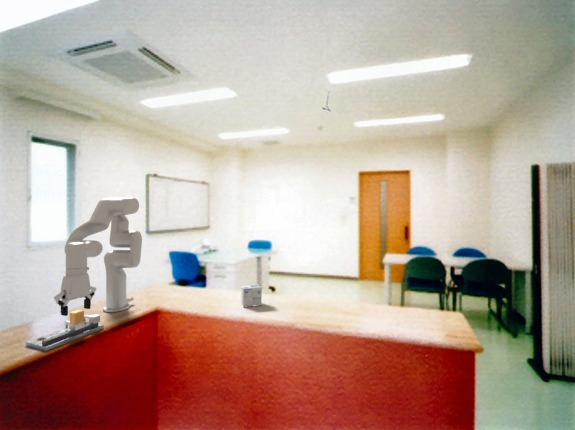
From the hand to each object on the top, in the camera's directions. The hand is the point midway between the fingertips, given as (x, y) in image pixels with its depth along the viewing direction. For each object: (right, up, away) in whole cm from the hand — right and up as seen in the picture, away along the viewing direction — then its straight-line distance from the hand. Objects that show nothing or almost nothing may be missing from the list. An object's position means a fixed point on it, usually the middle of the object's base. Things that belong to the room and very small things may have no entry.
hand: (76, 311), depth 131 cm
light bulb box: (+69, -10, +45) cm, 83 cm away
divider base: (-4, -10, 0) cm, 11 cm away
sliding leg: (-3, -8, +2) cm, 9 cm away
